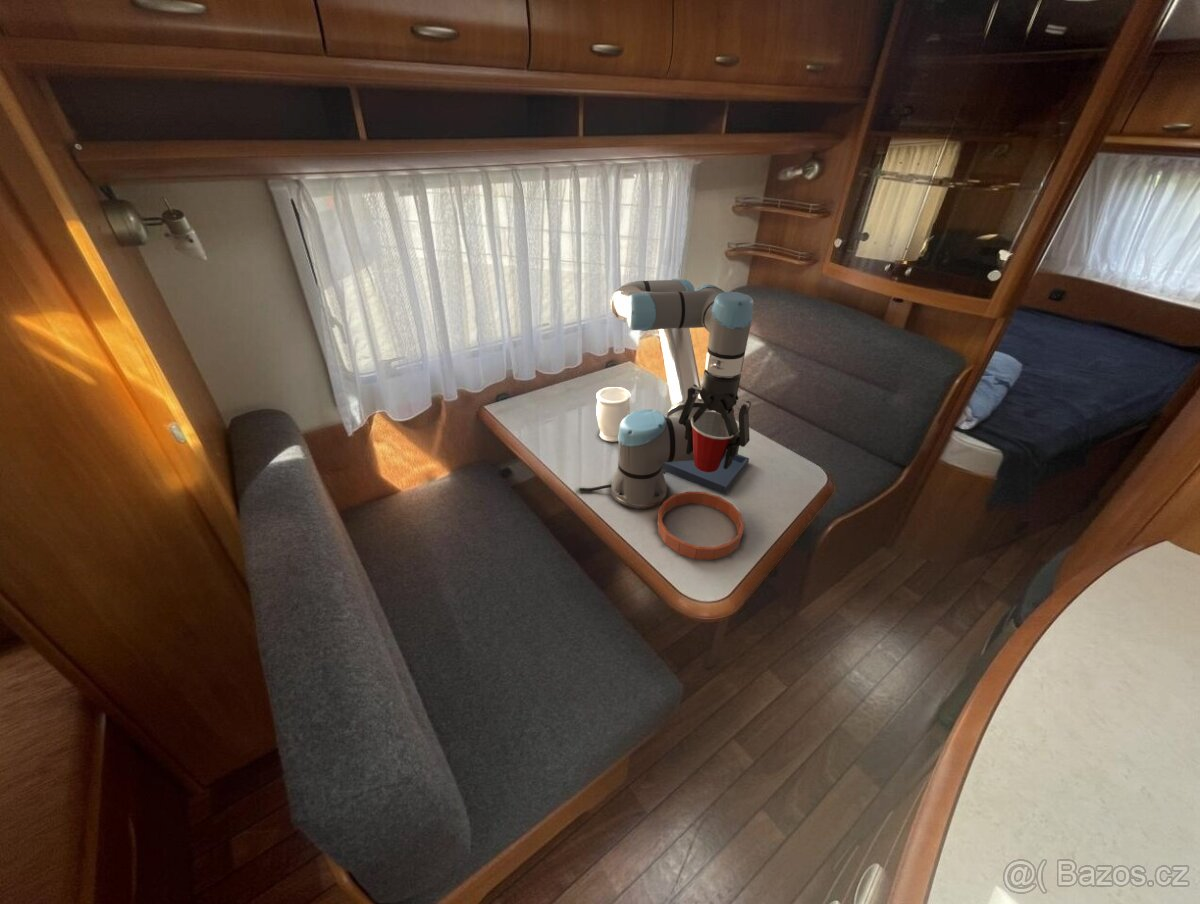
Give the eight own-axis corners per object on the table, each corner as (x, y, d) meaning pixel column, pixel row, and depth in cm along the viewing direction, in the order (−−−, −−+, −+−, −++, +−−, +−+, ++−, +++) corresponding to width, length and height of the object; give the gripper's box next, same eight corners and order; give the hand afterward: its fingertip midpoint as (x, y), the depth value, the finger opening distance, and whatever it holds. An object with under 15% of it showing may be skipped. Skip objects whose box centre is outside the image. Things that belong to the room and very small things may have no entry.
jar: (614, 423, 161) (615, 383, 153) (635, 436, 155) (637, 395, 146) (590, 434, 156) (589, 393, 147) (610, 447, 149) (611, 406, 141)
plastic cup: (731, 482, 108) (740, 439, 101) (682, 476, 110) (689, 432, 103) (730, 454, 117) (739, 412, 109) (686, 449, 118) (692, 407, 111)
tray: (656, 466, 141) (656, 459, 140) (682, 441, 152) (683, 434, 151) (724, 494, 131) (725, 487, 129) (747, 465, 142) (749, 458, 140)
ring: (659, 557, 112) (660, 547, 110) (656, 500, 129) (656, 490, 127) (748, 561, 111) (751, 550, 109) (733, 502, 128) (735, 492, 126)
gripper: (668, 363, 102) (660, 449, 115) (766, 393, 91) (745, 484, 104) (685, 352, 107) (675, 436, 120) (780, 378, 96) (758, 467, 109)
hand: (708, 458), depth 112 cm, fingers closed on plastic cup, 9 cm apart
